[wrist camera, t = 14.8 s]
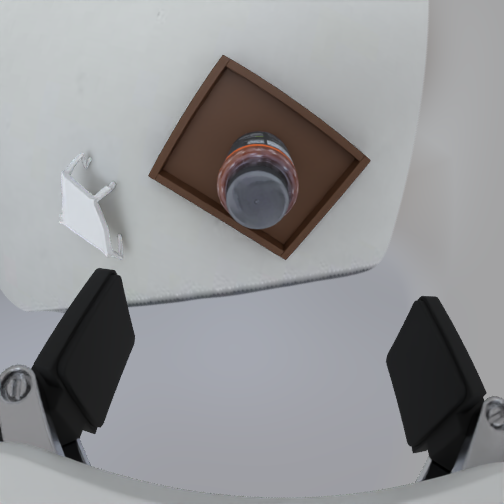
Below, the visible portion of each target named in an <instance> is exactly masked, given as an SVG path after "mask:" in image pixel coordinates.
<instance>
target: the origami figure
mask: <svg viewBox="0 0 504 504" xmlns="http://www.w3.org/2000/svg"><path fill="white" fill-rule="evenodd" d="M80 159H81V160H82V163H83V165H84V167H85V168H86V169H87V167H88V165H89V163H90V161H91V158H90V157H89V158H88V160H87V162H86V161H85V156H84V154H83V153H82V152H81V153H80V154H79V155H78V156H77V157H76V158H75V159H74V160H73V161H72V162H71V163H70V164H69V166H68V167H67V168H66V169H65V170H64V171H62V175H61V185H62V213H61V214H60V215H59V217H60V218H61V219H62V221H60V222H59V223H61V224H63V225H65V226H67V227H68V228H69V229H71V230H72V231H73V232H75V233H76V234H78V235H79V236H80V237H82V238H83V239H85V240H86V241H87V242H89V243H90V244H92V245H93V246H95V247H96V248H98V249H99V250H100V251H102V252H103V253H104V254H105V255H106V257H111V256H113V257H116V258H118V259H120V260H122V259H123V248H122V235H121V234H119V235H118V236H117V237H118V253H117V252H115V251H114V250H113V249H112V245H111V240H110V234H109V228H108V226H107V223H106V221H105V218H104V215H103V213H102V211H101V208H100V206H99V204H98V201H99V200H100V199H102V198H103V197H104V196H106V195H107V194H108V193H110V192H111V191H112V189H113V188H114V187H115V185H116V183H115V182H114V181H112V183H111V184H110V185H109V186H105V187H104V188H103V189H101V190H100V191H99V192H98V193H97V194H96V195H95V196H93V195H92V194H91V193H90V192H89V191H87V190H86V189H85V188H84V187H83V186H82V185H80V184H79V183H78V182H77V181H76V180H75V179H73V178H72V177H71V176H70V175H71V173H72V171H73V169H74V167H75V165H76V164H77V163H78V161H79V160H80Z"/></svg>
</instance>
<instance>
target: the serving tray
mask: <svg viewBox="0 0 504 504" xmlns="http://www.w3.org/2000/svg"><path fill="white" fill-rule="evenodd" d="M252 131H264V132H269V133H271V134H273V135H275V136H277V137H278V138H279V139H280V140H281V141H282V142H283V143H284V144H285V146H286V147H287V149H288V152H289V154H290V157H291V159H292V162H293V164H294V167H295V169H296V172H297V175H298V181H299V191H298V196H297V199H296V202H295V204H294V206H293V207H292V208H291V210H290V211H289V212H288V213H287V214H286V215H285V216H284V217H283V218H282V219H281V220H280V221H279V222H278V223H276V224H275V225H273V226H271V227H268V228H265V229H250V228H247V227H245V226H242V225H241V224H239V223H238V222H236V221H235V220H234V219H233V218H232V216H231V215H230V214H229V213H228V212H227V210H226V209H225V208H224V207H223V205H222V203H221V201H220V199H219V196H218V193H217V178H218V174H219V171H220V168H221V166H222V164H223V162H224V160H225V158H226V156H227V153H228V151H229V150H230V148H231V146H232V144H233V143H234V142H235V141H236V140H237V139H238V138H239V137H240V136H242V135H244V134H246V133H249V132H252ZM370 161H371V160H370V159H369V158H368V157H366V156H365V155H364V154H363V153H362V152H361V151H359V150H358V149H357V148H356V147H355V146H353V145H352V144H351V143H350V142H349V141H347V140H346V139H345V138H344V137H343V136H341V135H340V134H339V133H338V132H336V131H335V130H334V129H333V128H331V127H330V126H329V125H327V124H326V123H325V122H324V121H322V120H321V119H320V118H318V117H317V116H316V115H314V114H313V113H312V112H310V111H309V110H308V109H306V108H305V107H303V106H302V105H301V104H299V103H298V102H296V101H295V100H294V99H292V98H291V97H289V96H288V95H286V94H285V93H284V92H282V91H281V90H279V89H278V88H276V87H275V86H273V85H272V84H270V83H269V82H267V81H265V80H264V79H262V78H261V77H259V76H258V75H256V74H255V73H253V72H251V71H250V70H248V69H246V68H245V67H243V66H241V65H240V64H238V63H236V62H235V61H233V60H231V59H230V58H228V57H226V56H224V55H222V57H221V58H220V59H219V61H218V62H217V64H216V65H215V67H214V68H213V69H212V71H211V72H210V74H209V75H208V77H207V78H206V80H205V81H204V83H203V84H202V86H201V87H200V89H199V90H198V92H197V93H196V95H195V96H194V98H193V99H192V101H191V103H190V104H189V106H188V107H187V109H186V111H185V112H184V114H183V115H182V117H181V119H180V120H179V122H178V124H177V125H176V127H175V129H174V130H173V132H172V134H171V135H170V137H169V139H168V141H167V142H166V144H165V146H164V148H163V149H162V151H161V153H160V155H159V157H158V159H157V160H156V162H155V164H154V166H153V168H152V170H151V172H150V173H149V175H148V176H149V177H150V178H152V179H154V180H156V181H157V182H159V183H161V184H162V185H164V186H166V187H167V188H169V189H171V190H172V191H174V192H175V193H177V194H179V195H180V196H182V197H184V198H185V199H187V200H189V201H190V202H192V203H194V204H195V205H197V206H198V207H200V208H202V209H203V210H205V211H207V212H208V213H210V214H212V215H213V216H215V217H216V218H218V219H220V220H221V221H223V222H225V223H226V224H228V225H230V226H231V227H233V228H234V229H236V230H238V231H239V232H241V233H243V234H244V235H246V236H247V237H249V238H251V239H252V240H254V241H256V242H257V243H259V244H260V245H262V246H264V247H265V248H267V249H268V250H270V251H272V252H273V253H275V254H277V255H278V256H280V257H281V258H283V259H285V260H286V259H287V258H288V257H289V256H290V255H291V254H292V253H293V251H294V250H295V249H296V248H297V247H298V246H299V245H300V243H301V242H302V241H303V240H304V239H305V238H306V237H307V235H308V234H309V233H310V232H311V231H312V230H313V228H314V227H315V226H316V225H317V224H318V223H319V222H320V220H321V219H322V218H323V217H324V216H325V215H326V213H327V212H328V211H329V210H330V209H331V208H332V206H333V205H334V204H335V203H336V202H337V200H338V199H339V198H340V197H341V196H342V195H343V193H344V192H345V191H346V190H347V189H348V187H349V186H350V185H351V184H352V183H353V182H354V180H355V179H356V178H357V177H358V176H359V174H360V173H361V172H362V171H363V170H364V168H365V167H366V166H367V165H368V164H369V162H370Z"/></svg>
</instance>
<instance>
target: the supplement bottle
mask: <svg viewBox="0 0 504 504" xmlns="http://www.w3.org/2000/svg"><path fill="white" fill-rule="evenodd" d="M298 191H299V181H298V175H297V172H296V169H295V167H294V164H293V162H292V159H291V157H290V154H289V152H288V149H287V147H286V146H285V144H284V143H283V142H282V141H281V140H280V139H279V138H278V137H277V136H275V135H273V134H271V133H269V132H264V131H252V132H249V133H246V134H244V135H242V136H240V137H239V138H238V139H237V140H236V141H235V142H234V143H233V144H232V146H231V148H230V150H229V151H228V153H227V156H226V158H225V160H224V162H223V164H222V166H221V168H220V171H219V174H218V178H217V193H218V196H219V199H220V201H221V203H222V205H223V207H224V208H225V209H226V210H227V212H228V213H229V214H230V215H231V216H232V218H233V219H234V220H235V221H236V222H238V223H239V224H241V225H242V226H245V227H247V228H250V229H265V228H268V227H271V226H273V225H275V224H276V223H278V222H279V221H280V220H281V219H282V218H283V217H284V216H285V215H286V214H287V213H288V212H289V211H290V210H291V208H292V207H293V206H294V204H295V202H296V199H297V196H298Z"/></svg>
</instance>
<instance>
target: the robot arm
mask: <svg viewBox="0 0 504 504" xmlns="http://www.w3.org/2000/svg"><path fill="white" fill-rule="evenodd" d="M134 341H135V335H134V331H133V327H132V323H131V319H130V315H129V310H128V306H127V302H126V297H125V293H124V288H123V283H122V279H121V277H120V276H119V275H117V273H116V271H115V270H110V269H102V268H98V269H96V270H95V272H94V273H93V274H92V276H91V277H90V278H89V280H88V281H87V283H86V284H85V285H84V287H83V288H82V290H81V291H80V292H79V294H78V295H77V297H76V298H75V300H74V301H73V302H72V304H71V305H70V307H69V308H68V310H67V311H66V313H65V314H64V316H63V317H62V319H61V320H60V322H59V323H58V325H57V326H56V328H55V330H54V331H53V333H52V334H51V336H50V338H49V339H48V341H47V342H46V344H45V346H44V347H43V349H42V351H41V352H40V354H39V356H38V357H37V359H36V361H35V362H34V365H33V367H32V368H31V369H30V368H29V367H27V366H24V365H15V366H11V367H9V368H7V369H6V370H5V371H4V372H2V373H1V375H0V504H504V399H502V398H500V397H495V396H492V397H489V398H487V399H486V400H485V401H484V399H483V396H484V395H485V394H486V391H485V389H484V386H483V384H482V382H481V379H480V377H479V375H478V373H477V371H476V369H475V366H474V364H473V362H472V360H471V358H470V356H469V354H468V352H467V350H466V348H465V346H464V344H463V342H462V340H461V338H460V336H459V335H458V333H457V331H456V329H455V327H454V325H453V323H452V321H451V320H450V318H449V316H448V314H447V313H446V311H445V309H444V307H443V306H442V304H441V302H440V300H439V299H438V298H437V297H431V296H421V297H420V298H419V299H418V300H417V301H415V302H414V303H413V306H412V308H411V310H410V312H409V314H408V316H407V318H406V320H405V322H404V324H403V326H402V328H401V330H400V332H399V334H398V336H397V338H396V340H395V342H394V344H393V346H392V347H391V349H390V351H389V353H388V355H387V359H386V363H387V367H388V370H389V373H390V377H391V381H392V384H393V388H394V391H395V395H396V399H397V403H398V406H399V410H400V414H401V418H402V422H403V426H404V430H405V435H406V439H407V443H408V445H409V446H412V451H413V453H417V452H422V451H426V450H428V453H429V457H428V459H427V461H426V463H425V465H424V467H423V469H422V471H421V473H420V474H419V476H418V478H417V480H416V482H415V483H412V484H408V485H403V486H399V487H393V488H388V489H383V490H377V491H370V492H363V493H356V494H346V495H336V496H324V497H305V498H263V497H244V496H231V495H221V494H212V493H204V492H197V491H191V490H184V489H179V488H173V487H168V486H163V485H158V484H154V483H149V482H145V481H141V480H137V479H133V478H130V477H126V476H122V475H119V474H115V473H111V472H108V471H105V470H102V469H99V468H95V467H92V466H91V465H90V462H89V460H88V458H87V455H86V453H85V451H84V448H83V446H82V443H81V441H80V436H81V433H82V430H84V431H87V432H90V433H93V434H95V433H96V430H97V427H101V426H102V425H103V423H104V421H105V418H106V415H107V412H108V409H109V407H110V404H111V401H112V399H113V396H114V393H115V391H116V388H117V386H118V383H119V380H120V377H121V375H122V373H123V370H124V368H125V365H126V363H127V360H128V357H129V355H130V353H131V350H132V348H133V345H134Z"/></svg>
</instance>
